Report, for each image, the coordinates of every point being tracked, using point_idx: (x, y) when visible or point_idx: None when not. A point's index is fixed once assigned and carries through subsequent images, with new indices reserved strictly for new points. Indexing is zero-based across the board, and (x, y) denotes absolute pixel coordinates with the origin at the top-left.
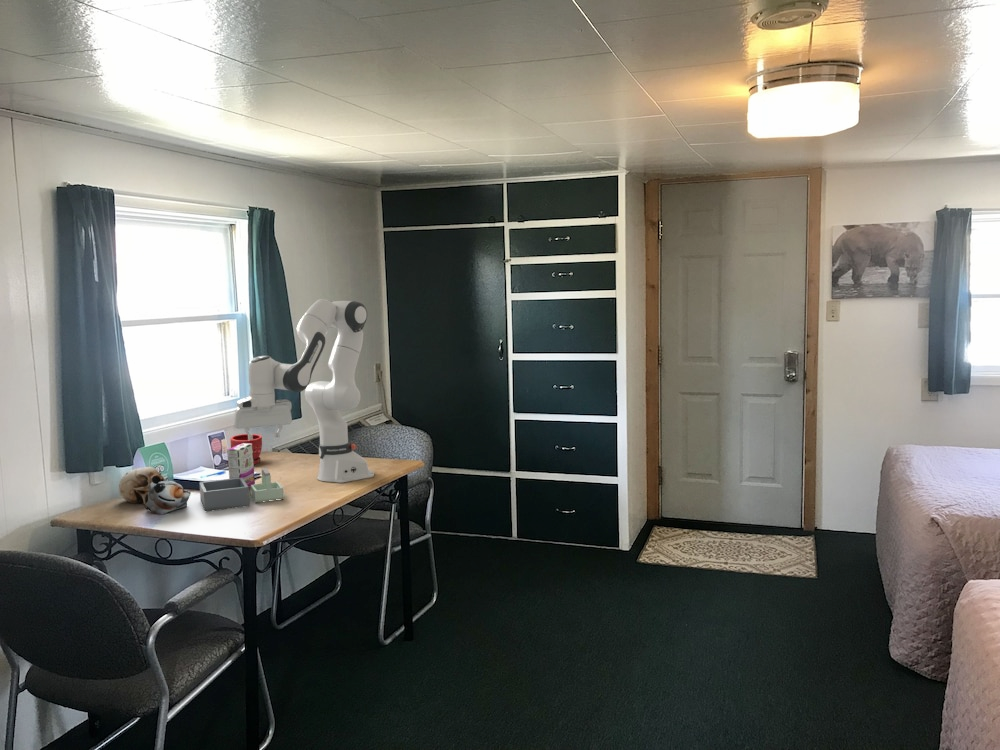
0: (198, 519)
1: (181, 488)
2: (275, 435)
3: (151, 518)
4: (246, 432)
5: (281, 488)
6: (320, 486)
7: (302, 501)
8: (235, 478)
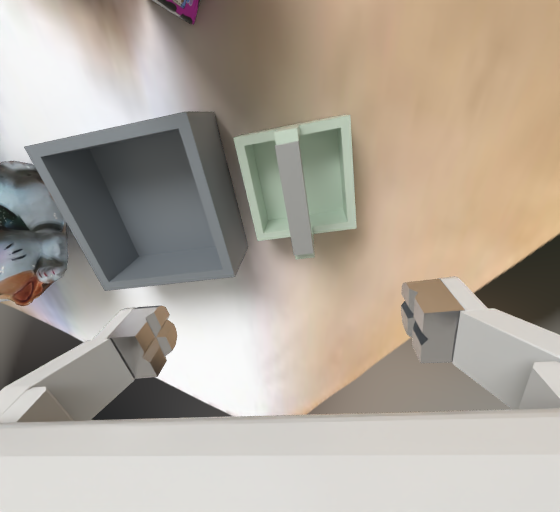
0: None
1: (30, 302)
2: (410, 329)
3: None
4: (71, 400)
5: (350, 228)
6: (545, 42)
7: (402, 249)
8: (158, 122)
